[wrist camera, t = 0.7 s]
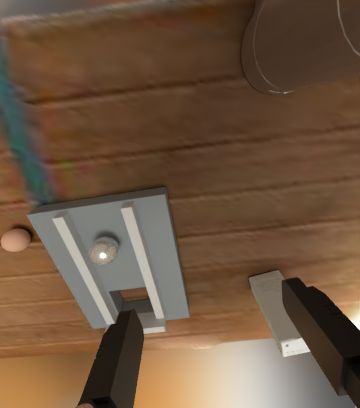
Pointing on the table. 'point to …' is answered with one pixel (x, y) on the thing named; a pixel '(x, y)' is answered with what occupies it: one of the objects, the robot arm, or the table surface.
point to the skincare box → (277, 312)
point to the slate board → (126, 260)
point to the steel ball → (104, 250)
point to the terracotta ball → (15, 240)
